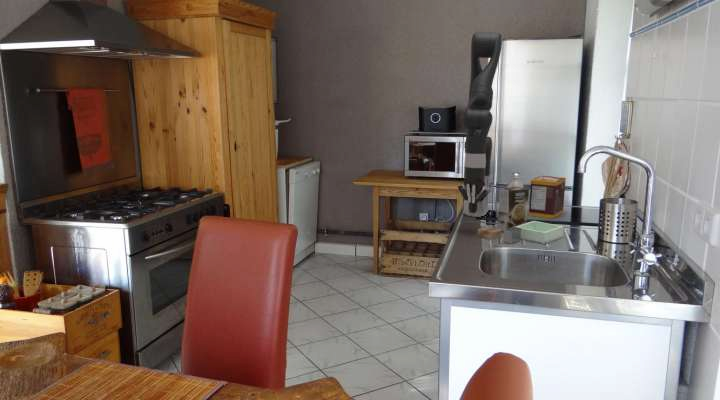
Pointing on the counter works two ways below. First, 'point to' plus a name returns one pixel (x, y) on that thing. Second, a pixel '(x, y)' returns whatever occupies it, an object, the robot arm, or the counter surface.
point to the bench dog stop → (512, 235)
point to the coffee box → (512, 207)
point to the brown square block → (489, 233)
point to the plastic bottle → (515, 181)
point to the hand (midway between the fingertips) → (472, 212)
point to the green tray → (540, 232)
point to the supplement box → (547, 196)
